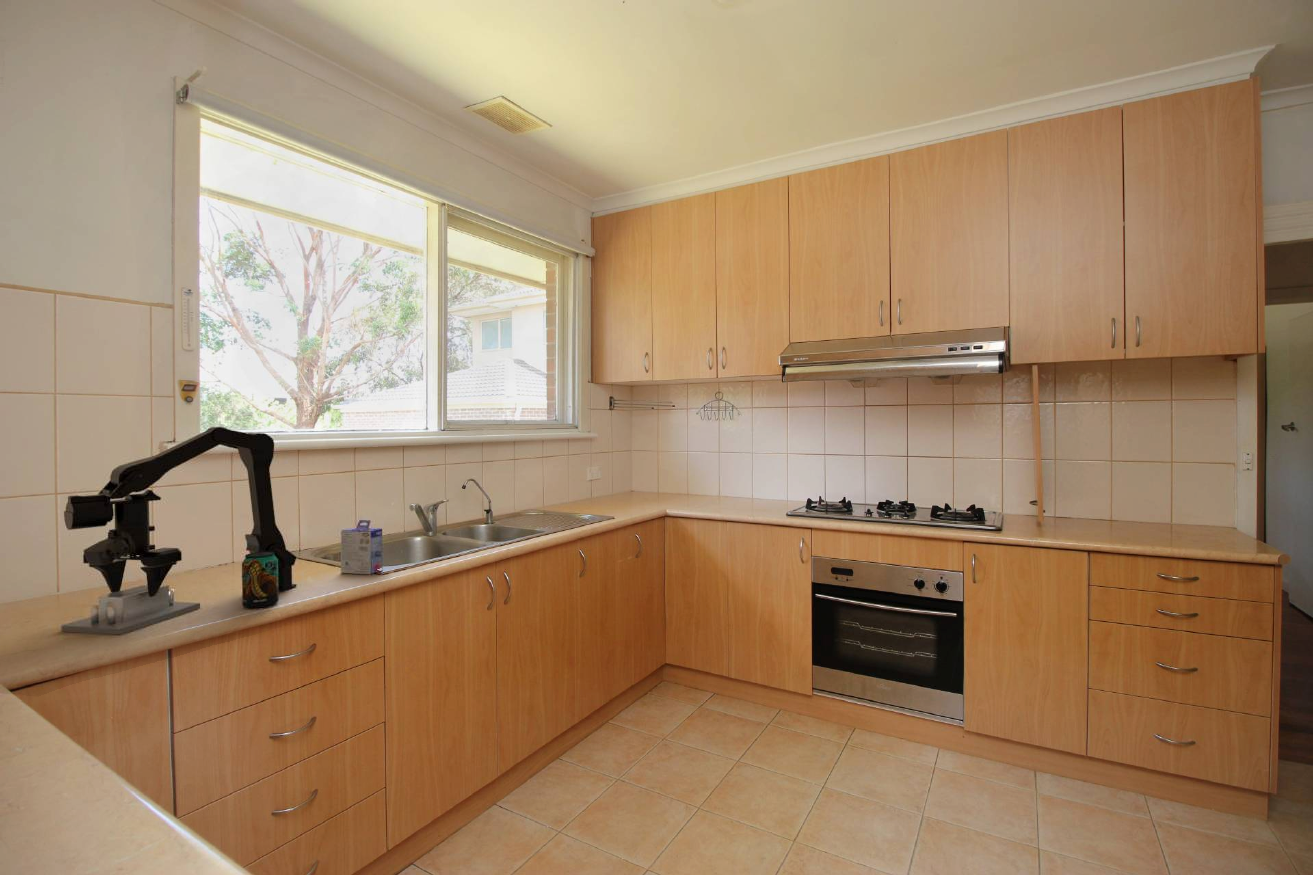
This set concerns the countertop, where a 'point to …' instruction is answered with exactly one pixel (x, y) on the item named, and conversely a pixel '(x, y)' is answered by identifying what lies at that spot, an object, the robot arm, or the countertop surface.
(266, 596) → the beverage can
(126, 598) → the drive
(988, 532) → the countertop surface
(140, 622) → the pin tray
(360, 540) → the ink cartridge box
